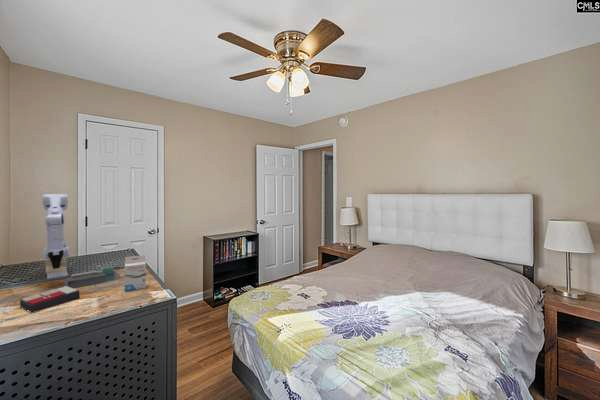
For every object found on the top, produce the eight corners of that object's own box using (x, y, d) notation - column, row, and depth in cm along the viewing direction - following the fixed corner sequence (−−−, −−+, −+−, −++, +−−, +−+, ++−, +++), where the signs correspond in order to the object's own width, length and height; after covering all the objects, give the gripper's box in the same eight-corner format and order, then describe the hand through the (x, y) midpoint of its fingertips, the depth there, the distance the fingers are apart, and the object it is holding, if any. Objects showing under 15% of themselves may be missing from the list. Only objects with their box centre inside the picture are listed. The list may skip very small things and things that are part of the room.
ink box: (124, 291, 118) (124, 259, 118) (124, 288, 123) (124, 257, 122) (146, 288, 123) (146, 256, 123) (145, 284, 127) (145, 254, 127)
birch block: (46, 272, 125) (45, 259, 124) (65, 269, 129) (65, 257, 129) (45, 274, 122) (45, 261, 121) (66, 271, 126) (65, 258, 126)
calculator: (19, 298, 103) (66, 284, 116) (20, 309, 103) (67, 293, 116) (30, 304, 98) (79, 288, 111) (32, 315, 98) (80, 298, 111)
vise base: (63, 280, 134) (63, 272, 133) (115, 271, 149) (115, 264, 149) (65, 290, 120) (64, 282, 120) (122, 279, 135) (122, 272, 135)
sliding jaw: (71, 279, 133) (71, 272, 133) (113, 272, 146) (113, 265, 145) (71, 280, 131) (71, 273, 131) (114, 273, 143) (114, 266, 143)
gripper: (44, 238, 128) (45, 265, 128) (43, 242, 117) (44, 272, 117) (63, 236, 132) (64, 263, 133) (64, 240, 122) (65, 269, 122)
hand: (56, 267), depth 125 cm, fingers closed on birch block, 4 cm apart
